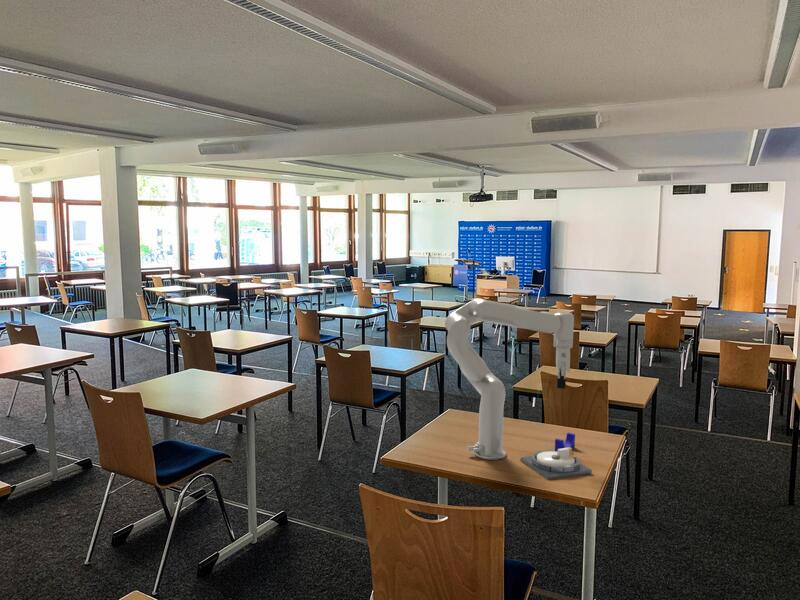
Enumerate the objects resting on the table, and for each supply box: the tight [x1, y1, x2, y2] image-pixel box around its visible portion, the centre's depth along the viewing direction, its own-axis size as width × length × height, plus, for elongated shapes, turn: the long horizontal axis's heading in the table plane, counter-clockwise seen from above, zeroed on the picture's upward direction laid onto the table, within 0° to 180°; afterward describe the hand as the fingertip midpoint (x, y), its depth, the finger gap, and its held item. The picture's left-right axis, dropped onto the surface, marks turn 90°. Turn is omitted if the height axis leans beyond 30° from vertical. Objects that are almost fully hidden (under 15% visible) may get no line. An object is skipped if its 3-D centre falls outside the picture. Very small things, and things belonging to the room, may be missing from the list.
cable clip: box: [554, 432, 576, 451], centre depth 241 cm, size 12×4×6 cm, turn 138°
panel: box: [520, 449, 593, 480], centre depth 223 cm, size 19×19×4 cm
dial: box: [537, 447, 575, 467], centre depth 223 cm, size 14×14×5 cm
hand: (561, 387), depth 236 cm, fingers closed
